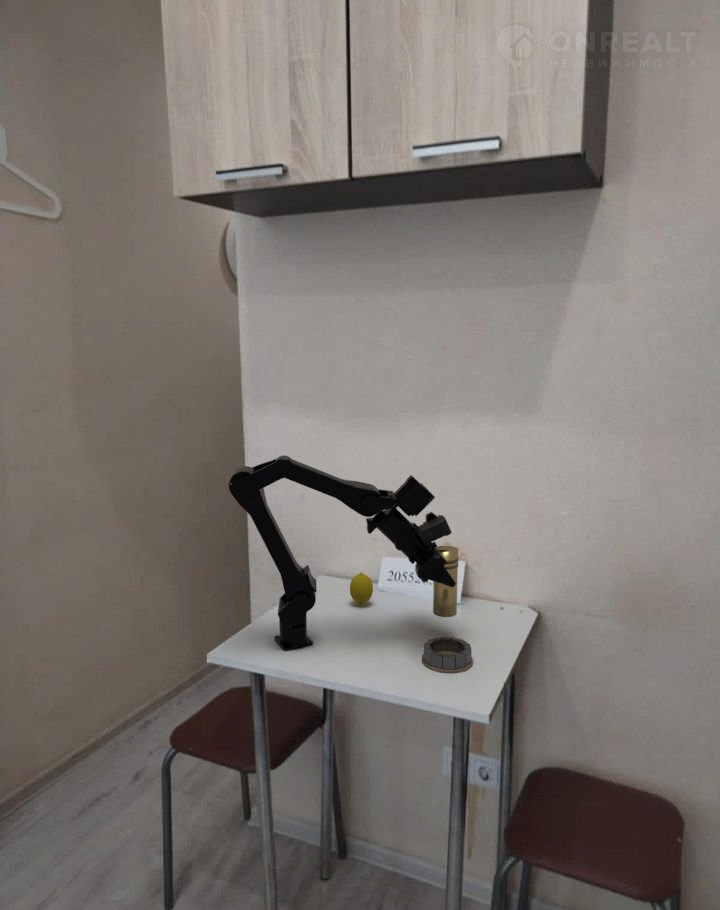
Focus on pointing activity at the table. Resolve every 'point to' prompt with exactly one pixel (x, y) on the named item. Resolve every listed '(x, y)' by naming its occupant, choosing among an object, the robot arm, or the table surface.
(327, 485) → the robot arm
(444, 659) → the collar
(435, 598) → the piston
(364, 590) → the lemon
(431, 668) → the collar plate
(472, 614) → the table surface
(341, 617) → the table surface
